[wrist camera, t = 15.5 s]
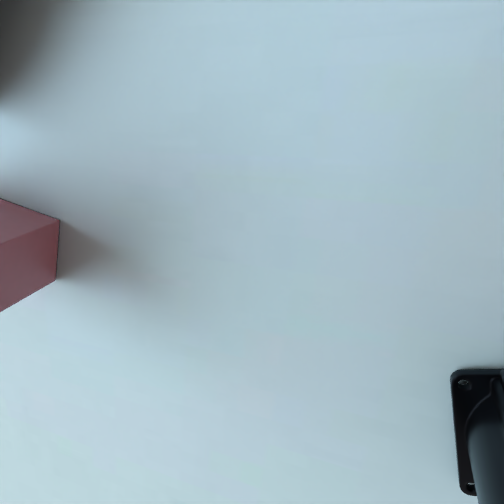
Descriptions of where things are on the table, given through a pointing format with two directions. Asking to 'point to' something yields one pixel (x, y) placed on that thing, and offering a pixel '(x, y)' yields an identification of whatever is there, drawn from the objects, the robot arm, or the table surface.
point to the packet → (25, 252)
